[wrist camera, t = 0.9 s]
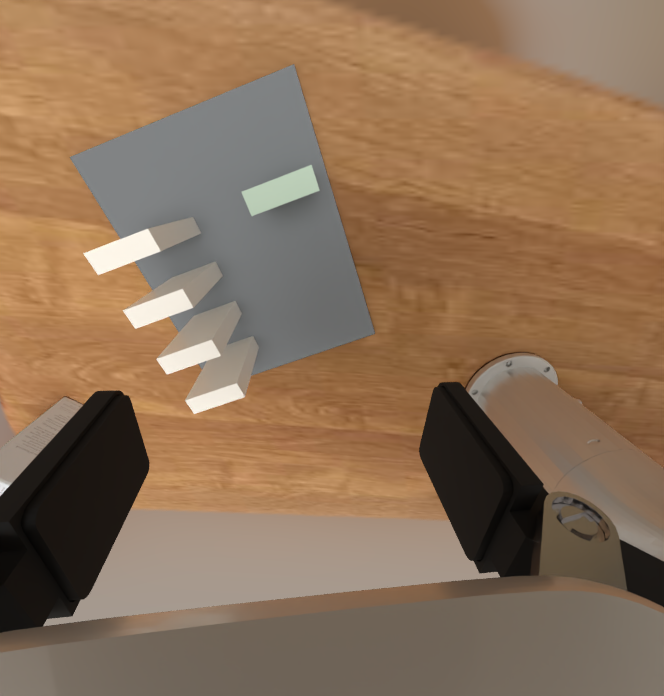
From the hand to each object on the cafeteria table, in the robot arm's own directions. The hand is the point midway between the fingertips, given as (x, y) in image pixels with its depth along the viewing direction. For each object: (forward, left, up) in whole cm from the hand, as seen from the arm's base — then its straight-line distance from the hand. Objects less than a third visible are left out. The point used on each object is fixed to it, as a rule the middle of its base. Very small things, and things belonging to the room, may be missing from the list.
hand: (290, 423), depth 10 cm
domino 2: (+10, +4, -26) cm, 28 cm away
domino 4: (+6, +12, -26) cm, 29 cm away
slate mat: (+5, +1, -27) cm, 27 cm away
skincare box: (+25, +25, -27) cm, 44 cm away
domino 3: (+8, +8, -26) cm, 28 cm away
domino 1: (+13, 0, -26) cm, 29 cm away
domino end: (+2, -6, -26) cm, 27 cm away
